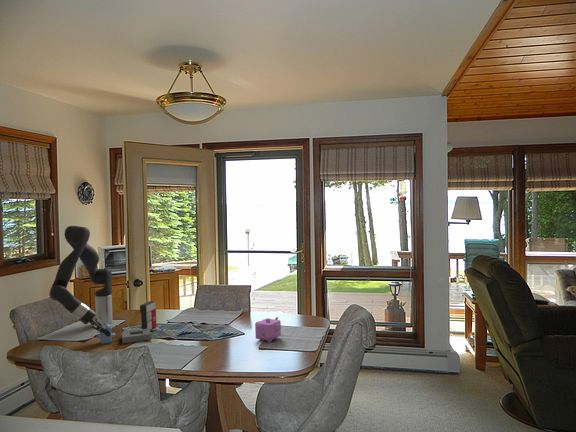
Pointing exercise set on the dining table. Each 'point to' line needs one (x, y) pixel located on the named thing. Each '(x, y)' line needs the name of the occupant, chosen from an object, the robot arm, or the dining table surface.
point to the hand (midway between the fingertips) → (109, 333)
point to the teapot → (268, 329)
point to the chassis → (136, 335)
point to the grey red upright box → (148, 315)
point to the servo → (103, 337)
